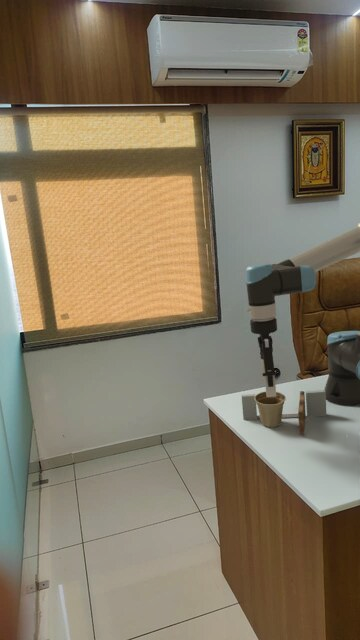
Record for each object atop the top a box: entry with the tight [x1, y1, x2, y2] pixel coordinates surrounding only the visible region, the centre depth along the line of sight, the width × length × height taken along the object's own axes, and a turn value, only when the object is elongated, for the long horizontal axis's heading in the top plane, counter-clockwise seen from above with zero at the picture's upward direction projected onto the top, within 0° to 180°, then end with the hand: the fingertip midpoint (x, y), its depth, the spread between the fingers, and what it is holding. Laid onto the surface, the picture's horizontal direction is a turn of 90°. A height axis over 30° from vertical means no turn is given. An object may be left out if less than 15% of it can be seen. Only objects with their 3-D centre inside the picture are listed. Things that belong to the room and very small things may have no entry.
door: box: [297, 390, 309, 436], centre depth 125 cm, size 14×2×8 cm, turn 162°
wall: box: [241, 389, 328, 421], centre depth 132 cm, size 26×2×8 cm, turn 83°
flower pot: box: [254, 390, 287, 428], centre depth 128 cm, size 9×9×9 cm
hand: (269, 387), depth 123 cm, fingers open, 13 cm apart
